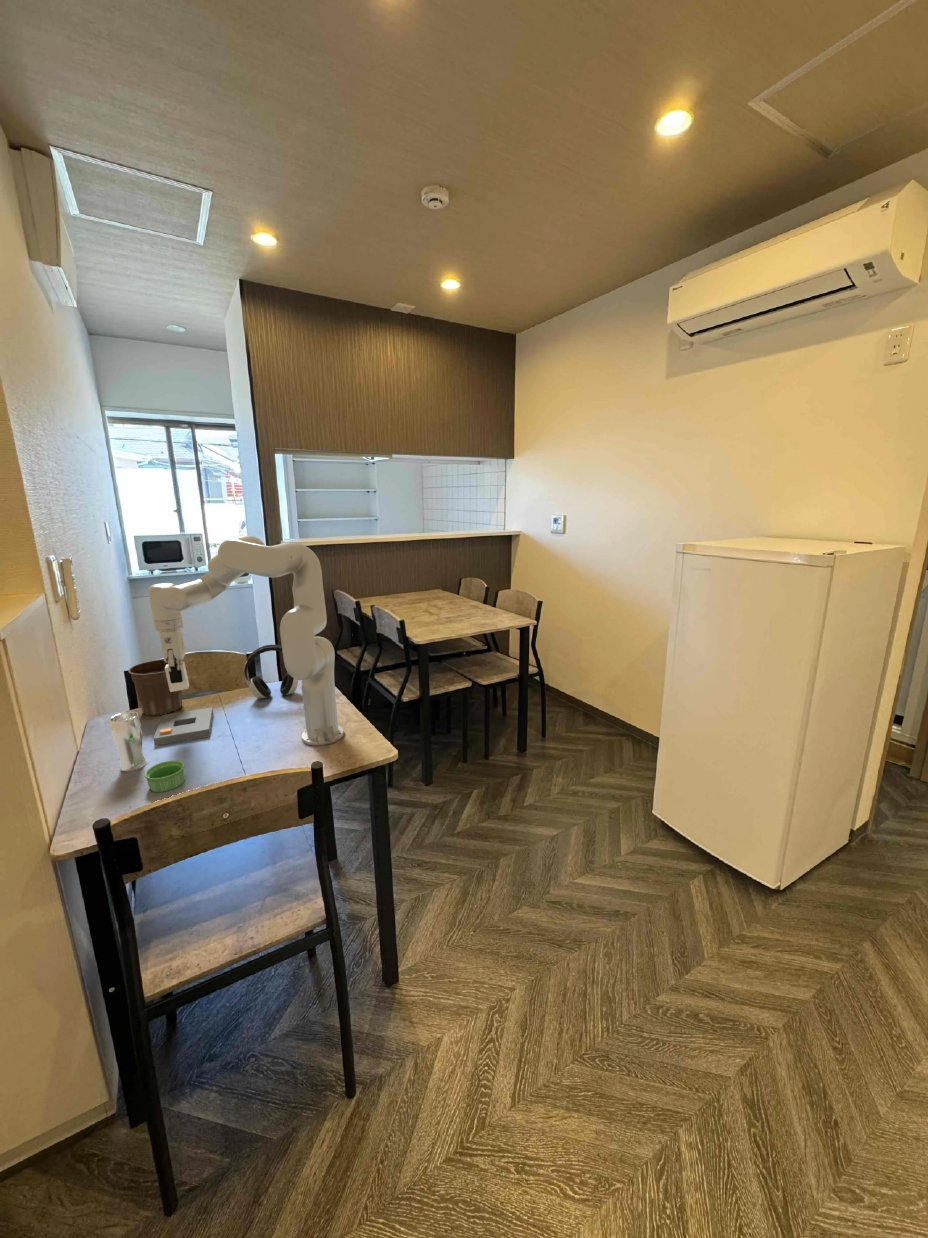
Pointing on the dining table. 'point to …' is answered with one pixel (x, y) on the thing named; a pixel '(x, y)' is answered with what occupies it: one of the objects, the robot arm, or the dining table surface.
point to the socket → (184, 726)
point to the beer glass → (128, 740)
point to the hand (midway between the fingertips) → (177, 679)
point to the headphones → (259, 685)
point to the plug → (179, 685)
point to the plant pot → (154, 688)
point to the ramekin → (165, 775)
